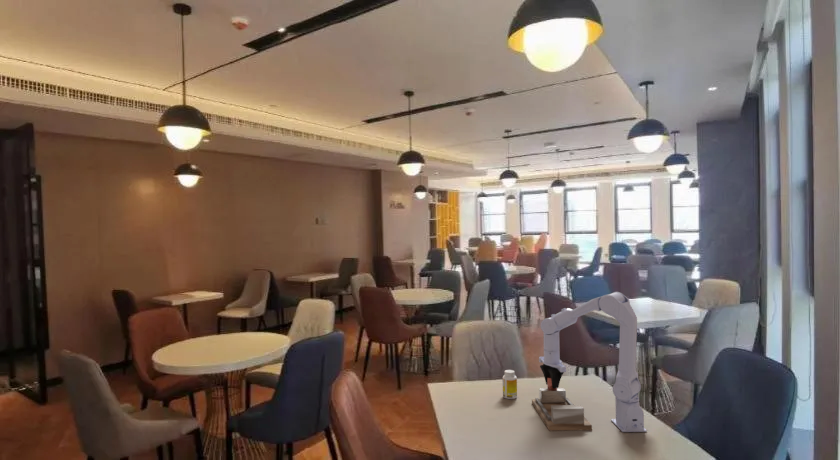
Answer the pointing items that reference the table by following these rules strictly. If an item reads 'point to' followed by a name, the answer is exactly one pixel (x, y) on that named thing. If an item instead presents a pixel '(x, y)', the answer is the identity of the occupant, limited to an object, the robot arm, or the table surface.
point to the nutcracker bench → (559, 426)
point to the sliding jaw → (552, 393)
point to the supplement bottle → (509, 384)
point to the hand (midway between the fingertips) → (552, 386)
